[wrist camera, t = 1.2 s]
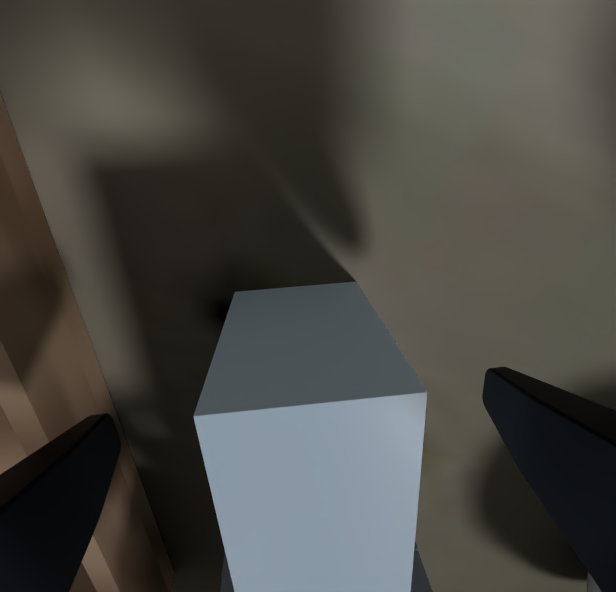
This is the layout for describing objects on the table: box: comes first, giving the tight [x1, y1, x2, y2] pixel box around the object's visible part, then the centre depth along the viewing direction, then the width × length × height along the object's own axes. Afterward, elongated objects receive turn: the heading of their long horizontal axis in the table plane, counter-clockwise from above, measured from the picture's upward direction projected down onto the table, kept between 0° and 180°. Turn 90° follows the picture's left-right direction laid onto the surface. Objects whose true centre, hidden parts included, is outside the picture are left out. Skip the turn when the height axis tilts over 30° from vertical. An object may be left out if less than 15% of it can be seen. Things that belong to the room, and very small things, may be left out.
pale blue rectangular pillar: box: [193, 282, 427, 592], centre depth 11 cm, size 14×4×6 cm, turn 4°
